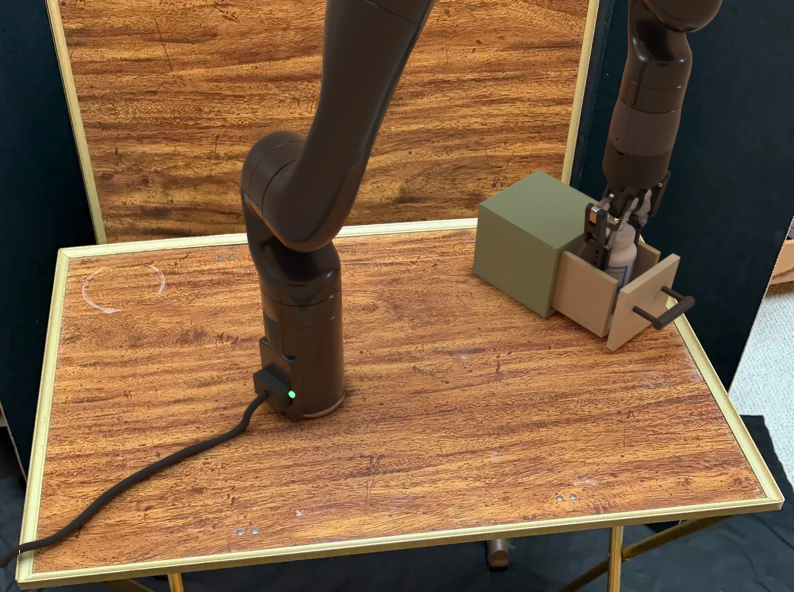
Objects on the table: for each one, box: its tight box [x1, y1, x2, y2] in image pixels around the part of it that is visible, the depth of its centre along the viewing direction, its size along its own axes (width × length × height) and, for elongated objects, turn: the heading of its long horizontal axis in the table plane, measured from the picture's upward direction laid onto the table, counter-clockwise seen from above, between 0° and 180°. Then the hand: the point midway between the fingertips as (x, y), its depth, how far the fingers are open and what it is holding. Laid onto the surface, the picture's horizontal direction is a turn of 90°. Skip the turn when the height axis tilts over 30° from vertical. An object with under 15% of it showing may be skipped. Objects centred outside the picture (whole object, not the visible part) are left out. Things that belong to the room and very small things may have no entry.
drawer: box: [550, 237, 696, 352], centre depth 127 cm, size 17×11×9 cm, turn 44°
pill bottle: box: [604, 220, 637, 304], centre depth 126 cm, size 6×5×10 cm
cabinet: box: [472, 169, 616, 319], centre depth 133 cm, size 14×12×11 cm
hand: (612, 258), depth 125 cm, fingers closed on pill bottle, 5 cm apart
